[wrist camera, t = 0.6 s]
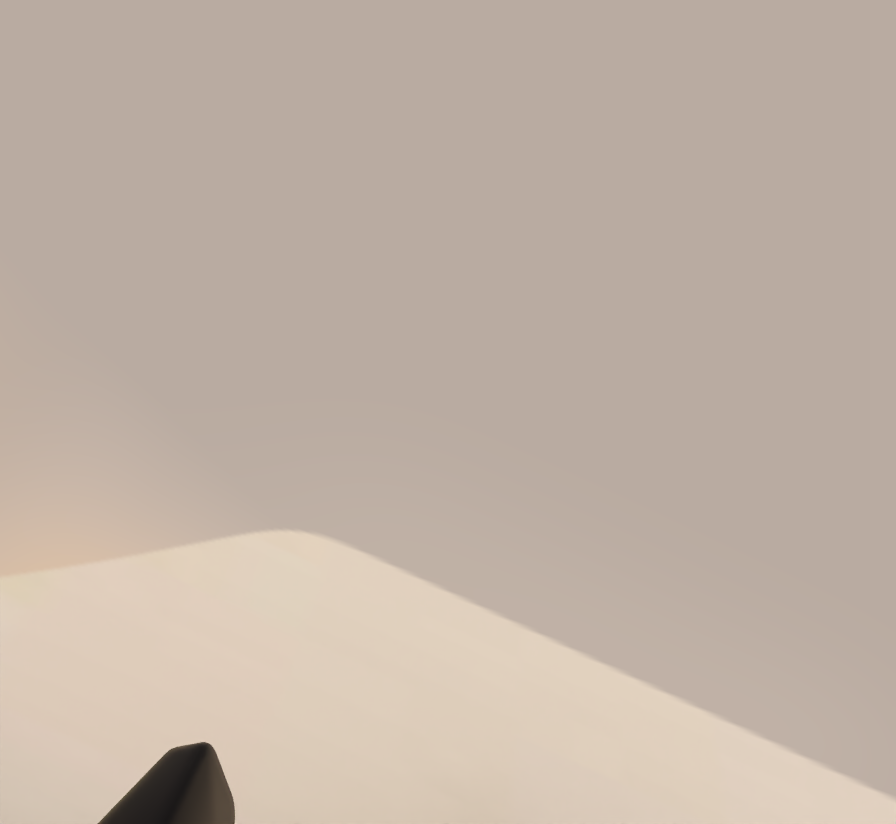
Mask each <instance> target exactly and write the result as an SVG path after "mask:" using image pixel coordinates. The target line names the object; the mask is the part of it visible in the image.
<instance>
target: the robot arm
mask: <svg viewBox="0 0 896 824" xmlns="http://www.w3.org/2000/svg"><path fill="white" fill-rule="evenodd" d="M234 823H235V808H234V801H233V797H232V794H231V791H230V789H229V786H228V783H227V781H226V778H225V775H224V773H223V770H222V767H221V765H220V762H219V759H218V757H217V754H216V752H215V750H214V748H213V747H212V746H211V745H210V744H209V743H205V742H201V743H196V744H190V745H185V746H180V747H176V748H173V749H171V750H169V751H168V752H167V753H166V754H165V755H164V756H163V757H162V758H161V759H160V760H159V761H158V762H157V763H156V764H155V765H154V766H153V767H152V768H151V769H150V770H149V771H148V772H147V773H146V774H145V775H144V776H143V777H142V778H141V779H140V781H139V782H138V783H137V784H136V785H135V786H134V787H133V788H132V789H131V790H130V791H129V792H128V793H127V794H126V795H125V796H124V797H123V798H122V799H121V800H120V801H119V802H118V803H117V804H116V805H115V806H114V807H113V808H112V809H111V811H110V812H109V813H108V814H107V815H106V816H105V817H104V818H103V819H102V820H101V821H100V822H99V823H98V824H234Z"/></svg>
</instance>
